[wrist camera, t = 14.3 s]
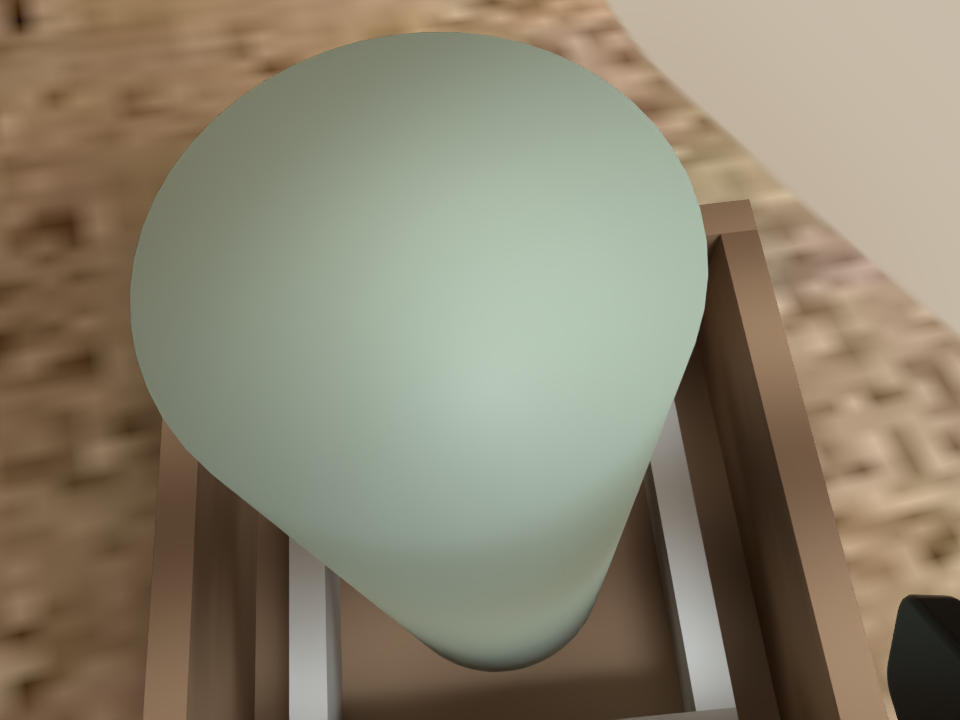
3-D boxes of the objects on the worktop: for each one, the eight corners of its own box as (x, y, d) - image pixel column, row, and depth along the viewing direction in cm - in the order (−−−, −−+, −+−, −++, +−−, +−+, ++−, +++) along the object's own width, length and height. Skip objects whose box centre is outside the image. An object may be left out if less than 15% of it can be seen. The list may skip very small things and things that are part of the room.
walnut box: (833, 842, 18) (930, 877, 14) (229, 901, 19) (127, 954, 14) (709, 303, 24) (749, 199, 19) (242, 356, 24) (172, 266, 19)
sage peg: (557, 709, 19) (589, 646, 6) (355, 620, 20) (15, 404, 7) (630, 502, 20) (776, 111, 8) (441, 430, 22) (295, -18, 9)
